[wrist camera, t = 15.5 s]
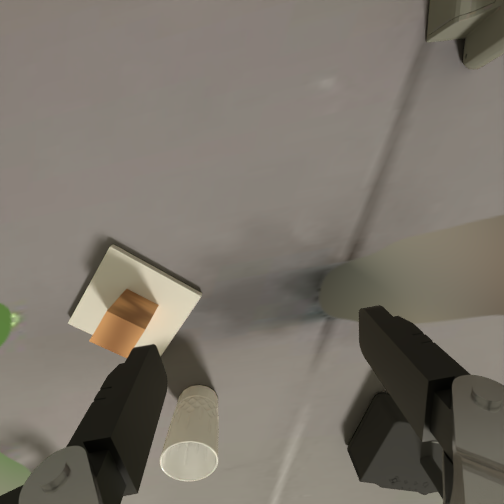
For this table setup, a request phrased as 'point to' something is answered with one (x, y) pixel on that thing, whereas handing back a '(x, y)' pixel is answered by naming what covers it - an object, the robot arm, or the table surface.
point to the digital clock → (469, 28)
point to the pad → (144, 284)
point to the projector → (394, 451)
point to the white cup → (192, 436)
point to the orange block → (124, 323)
